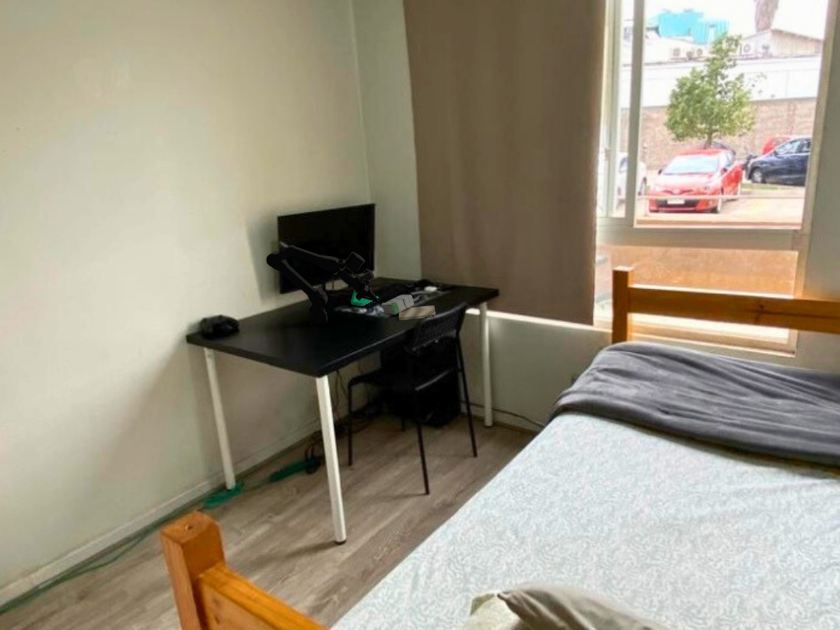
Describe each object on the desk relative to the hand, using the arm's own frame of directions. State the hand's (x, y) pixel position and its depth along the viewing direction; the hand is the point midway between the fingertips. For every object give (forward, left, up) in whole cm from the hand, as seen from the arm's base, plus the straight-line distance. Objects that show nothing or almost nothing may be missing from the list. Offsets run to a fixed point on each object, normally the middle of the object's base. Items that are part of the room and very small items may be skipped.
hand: (378, 301), depth 248 cm
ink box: (+4, +2, -5) cm, 6 cm away
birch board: (+17, 0, -8) cm, 18 cm away
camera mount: (-8, +26, -8) cm, 28 cm away
